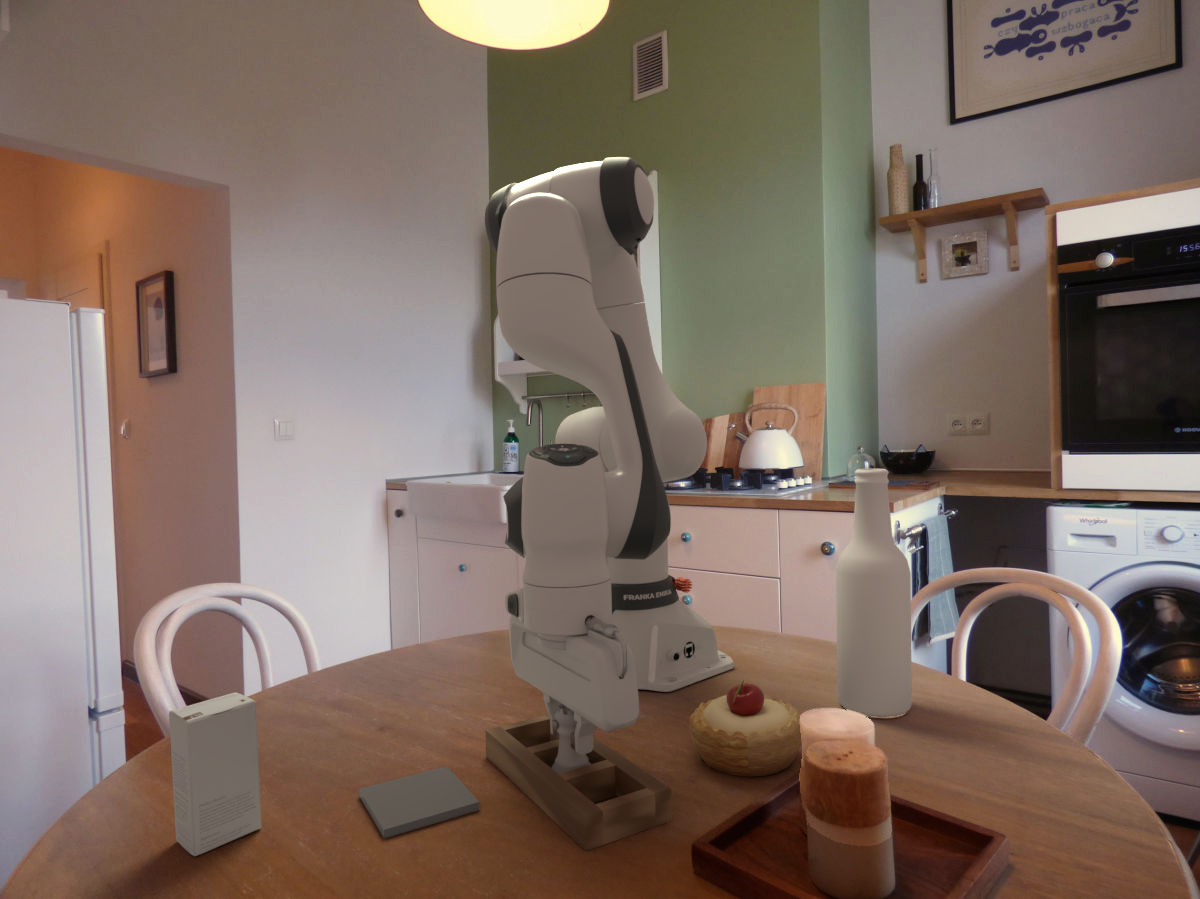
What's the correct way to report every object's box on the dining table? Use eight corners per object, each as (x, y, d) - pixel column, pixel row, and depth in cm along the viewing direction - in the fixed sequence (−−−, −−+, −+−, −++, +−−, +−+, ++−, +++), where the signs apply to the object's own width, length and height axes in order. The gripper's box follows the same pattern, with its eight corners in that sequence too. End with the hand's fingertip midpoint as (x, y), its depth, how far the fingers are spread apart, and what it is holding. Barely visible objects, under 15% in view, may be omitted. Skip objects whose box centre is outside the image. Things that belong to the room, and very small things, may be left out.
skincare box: (241, 815, 71) (237, 688, 71) (264, 830, 68) (259, 699, 68) (171, 843, 67) (166, 708, 66) (192, 861, 64) (187, 720, 63)
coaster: (447, 773, 79) (446, 766, 79) (479, 810, 71) (479, 801, 71) (359, 796, 74) (359, 788, 74) (384, 838, 67) (383, 829, 67)
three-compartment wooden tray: (558, 737, 87) (557, 712, 87) (671, 820, 69) (670, 788, 68) (486, 756, 83) (485, 729, 83) (585, 851, 64) (585, 816, 64)
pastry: (807, 742, 85) (806, 664, 85) (799, 791, 74) (798, 701, 73) (702, 730, 89) (701, 656, 89) (679, 775, 78) (678, 690, 77)
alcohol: (927, 714, 92) (925, 469, 91) (869, 725, 89) (866, 472, 88) (878, 691, 100) (876, 466, 99) (823, 700, 97) (820, 469, 96)
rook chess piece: (589, 796, 73) (587, 715, 73) (544, 793, 74) (543, 713, 74) (598, 775, 78) (596, 698, 77) (556, 772, 78) (554, 696, 78)
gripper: (654, 624, 68) (657, 775, 68) (549, 585, 85) (552, 705, 86) (594, 636, 65) (598, 794, 65) (497, 593, 82) (501, 718, 83)
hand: (571, 743), depth 76 cm, fingers closed on rook chess piece, 3 cm apart
